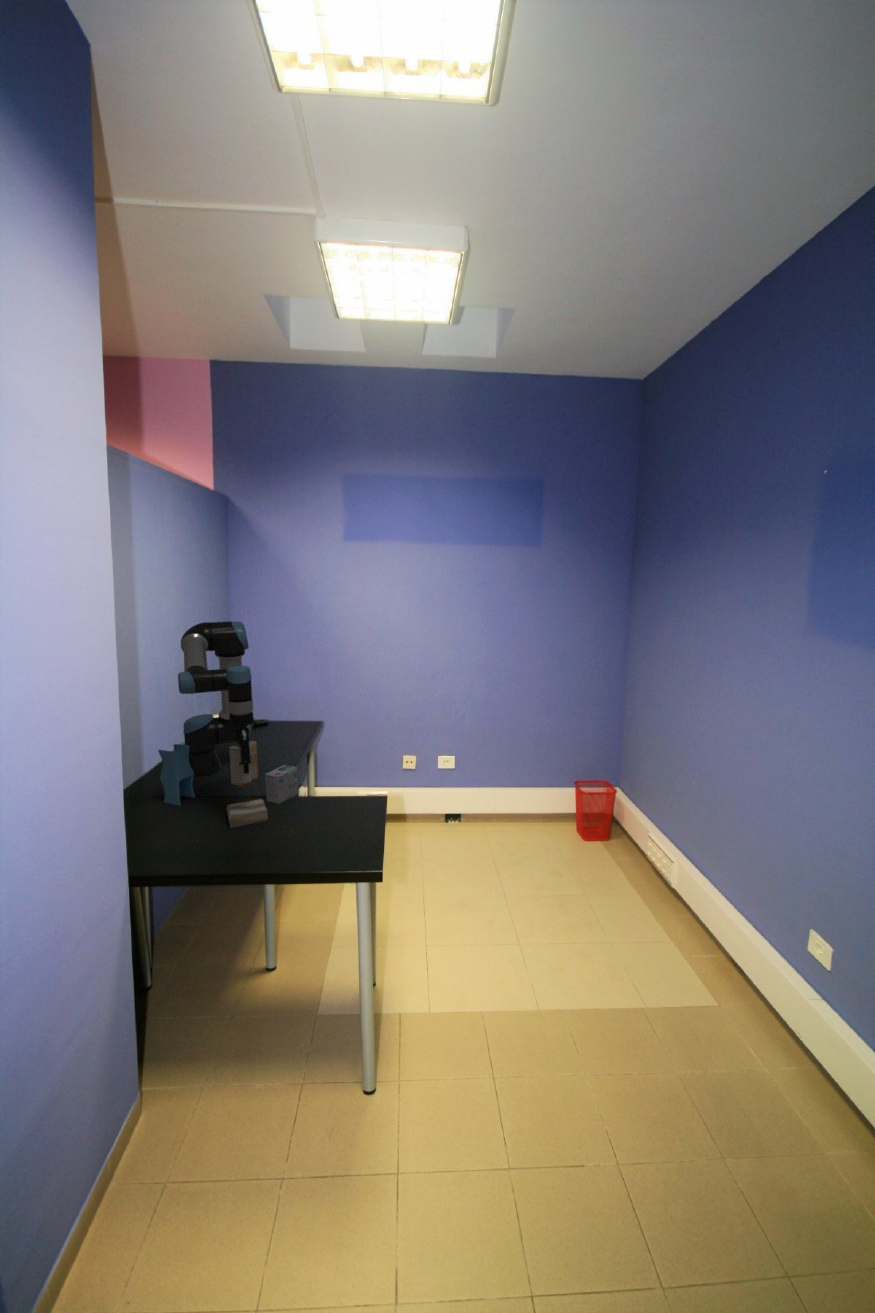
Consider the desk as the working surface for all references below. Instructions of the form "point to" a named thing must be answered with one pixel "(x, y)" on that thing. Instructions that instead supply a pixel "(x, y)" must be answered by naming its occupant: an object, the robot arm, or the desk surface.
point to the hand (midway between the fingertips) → (245, 777)
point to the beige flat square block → (247, 813)
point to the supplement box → (236, 759)
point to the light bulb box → (281, 784)
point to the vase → (176, 774)
